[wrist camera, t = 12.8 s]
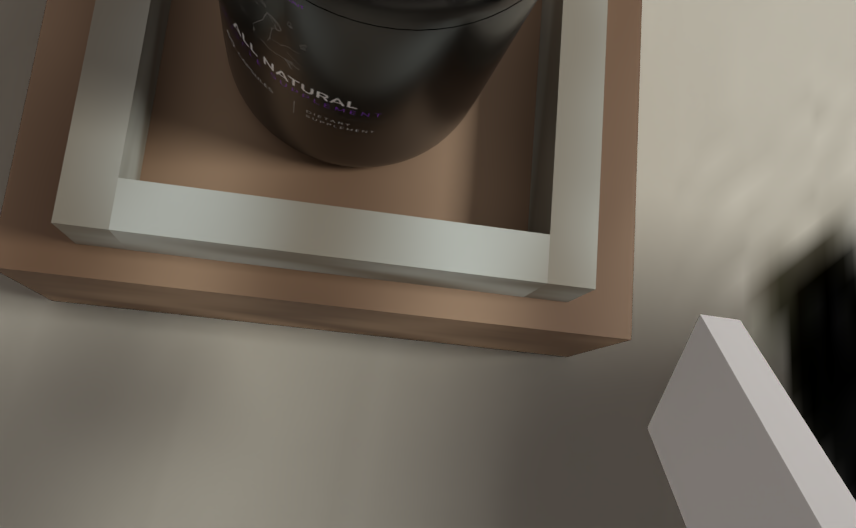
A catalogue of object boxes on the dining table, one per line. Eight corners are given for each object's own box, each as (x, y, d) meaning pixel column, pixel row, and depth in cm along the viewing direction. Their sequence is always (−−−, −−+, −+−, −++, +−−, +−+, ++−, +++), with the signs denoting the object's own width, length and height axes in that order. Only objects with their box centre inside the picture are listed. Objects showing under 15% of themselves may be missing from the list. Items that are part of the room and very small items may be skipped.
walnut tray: (586, -27, 29) (676, -167, 22) (567, 356, 26) (665, 330, 19) (132, -109, 27) (77, -293, 20) (51, 300, 23) (-46, 247, 17)
